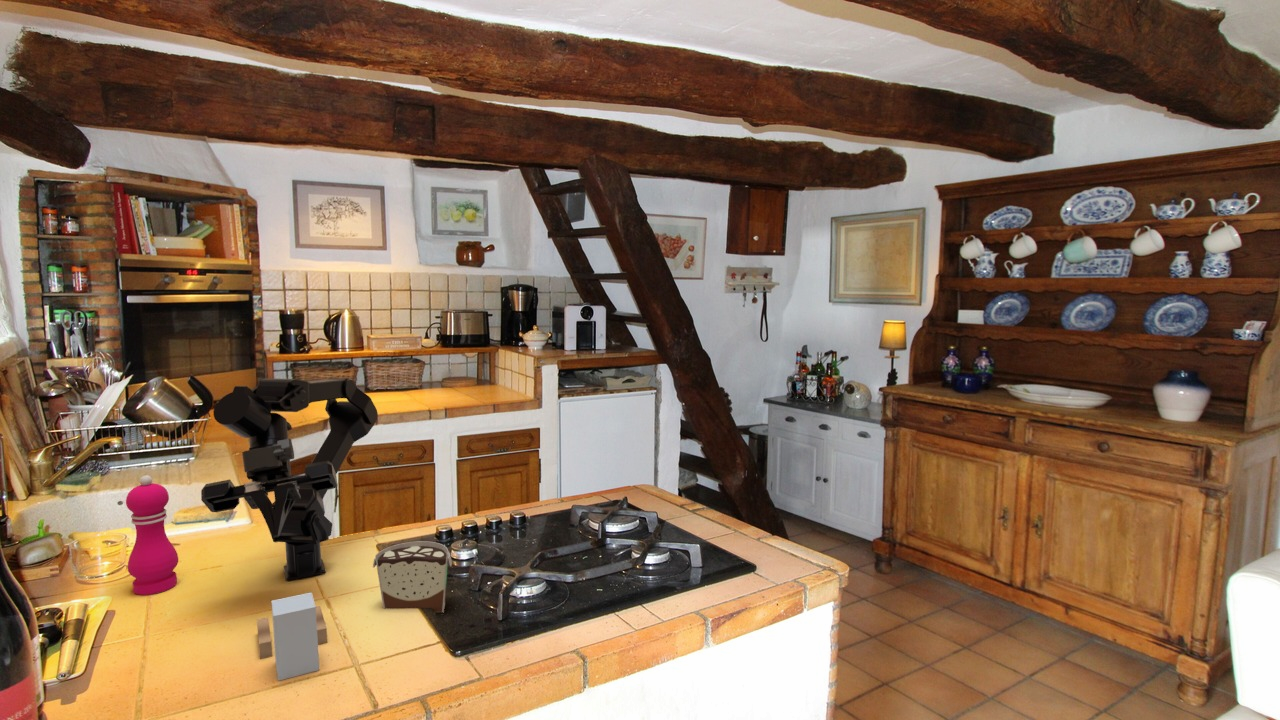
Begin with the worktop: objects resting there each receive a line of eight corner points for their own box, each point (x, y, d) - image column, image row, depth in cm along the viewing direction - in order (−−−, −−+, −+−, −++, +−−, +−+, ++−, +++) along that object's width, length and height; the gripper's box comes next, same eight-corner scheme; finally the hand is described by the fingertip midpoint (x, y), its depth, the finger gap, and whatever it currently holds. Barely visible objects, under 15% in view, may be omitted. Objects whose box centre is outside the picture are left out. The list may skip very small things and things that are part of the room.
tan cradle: (258, 639, 104) (256, 619, 104) (321, 625, 109) (320, 605, 108) (262, 691, 92) (261, 668, 91) (334, 672, 96) (332, 650, 95)
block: (275, 662, 96) (271, 600, 95) (315, 652, 99) (311, 592, 98) (278, 680, 92) (273, 616, 91) (319, 670, 95) (315, 606, 94)
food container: (461, 596, 118) (459, 539, 117) (452, 613, 112) (450, 554, 111) (387, 597, 118) (384, 540, 117) (375, 615, 112) (372, 555, 111)
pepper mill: (125, 587, 122) (114, 475, 119) (173, 574, 127) (164, 467, 124) (135, 600, 117) (124, 484, 114) (185, 586, 122) (176, 475, 119)
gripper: (189, 436, 106) (190, 533, 99) (321, 413, 112) (332, 503, 105) (211, 466, 115) (213, 557, 108) (332, 444, 122) (342, 528, 114)
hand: (275, 536), depth 109 cm, fingers closed
